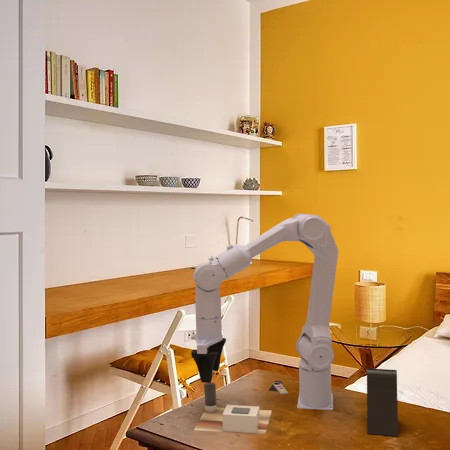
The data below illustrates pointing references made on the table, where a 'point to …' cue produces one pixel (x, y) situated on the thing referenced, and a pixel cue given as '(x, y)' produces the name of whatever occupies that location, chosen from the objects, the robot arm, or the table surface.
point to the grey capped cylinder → (210, 397)
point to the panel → (216, 422)
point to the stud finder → (241, 418)
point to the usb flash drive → (278, 387)
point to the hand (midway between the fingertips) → (210, 376)
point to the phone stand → (382, 402)
